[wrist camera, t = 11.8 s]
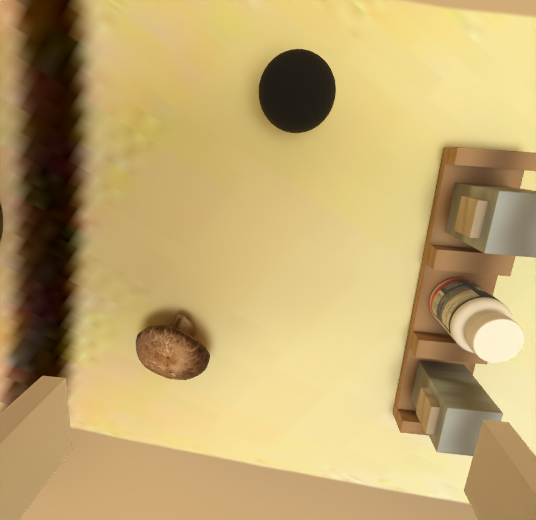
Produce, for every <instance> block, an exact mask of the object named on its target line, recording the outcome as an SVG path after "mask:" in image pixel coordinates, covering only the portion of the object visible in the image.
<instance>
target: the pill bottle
mask: <svg viewBox="0 0 536 520" xmlns="http://www.w3.org/2000/svg"><path fill="white" fill-rule="evenodd" d="M429 304H430V310H431V313H432V314H433V316H434V317H435V319H436V320H437V321H438V322H439V323H440V324H441V325H442V326H443V327H444V328H445V329H446V331H447V332H448V333H449V334H450V335H451V337H452V338H453V339H454V340H455V342H456V343H457V344H458V345H459V346H460V347H462V348H463V349H465V350H466V351H469V352H472V353H475V354H476V355H477V356H478V357H479V358H481V359H482V360H484V361H487V362H490V363H501V362H505V361H508V360H510V359H512V358H513V357H514V356H516V355H517V354H518V353H519V351H520V350H521V348H522V346H523V343H524V334H523V331H522V329H521V327H520V326H519V325H518V324H517V323H516V322H515V321H514V319H513V316H512V313H511V312H510V310H509V309H508V308H507V307H506V306H505V305H504V304H503V303H502V302H500V301H499V300H498V299H496V298H495V297H493V296H492V295H491V294H489V293H488V292H487V291H485V290H484V289H482V288H481V287H480V286H478V285H477V284H475V283H474V282H472V281H470V280H468V279H465V278H452V279H448V280H446V281H444V282H442V283H441V284H439V285H438V286H437V287H436V288H435V289H434V291H433V292H432V294H431V297H430V303H429Z"/></svg>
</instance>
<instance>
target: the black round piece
mask: <svg viewBox="0 0 536 520" xmlns="http://www.w3.org/2000/svg"><path fill="white" fill-rule="evenodd" d="M335 92H336V86H335V79H334V76H333V74H332V71H331V69H330V67H329V66H328V64H327V63H326V62H325V61H324V60H323V59H322V58H321V57H320V56H319V55H317V54H315V53H313V52H311V51H308V50H303V49H294V50H289V51H286V52H283V53H281V54H280V55H278V56H277V57H275V58H274V59H273V60H272V61H271V62H270V63H269V64H268V65H267V67H266V68H265V70H264V72H263V75H262V77H261V80H260V85H259V99H260V104H261V107H262V110H263V112H264V114H265V116H266V117H267V118H268V120H269V121H270V122H271V123H272V124H273V125H274V126H276V127H277V128H279V129H281V130H283V131H286V132H291V133H301V132H306V131H309V130H311V129H313V128H315V127H317V126H318V125H319V124H320V123H322V122H323V121H324V119H325V118H326V117H327V116H328V114H329V112H330V111H331V109H332V106H333V103H334V99H335Z"/></svg>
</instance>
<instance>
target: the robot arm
mask: <svg viewBox="0 0 536 520" xmlns="http://www.w3.org/2000/svg"><path fill="white" fill-rule="evenodd" d="M1 231H2V214H1V208H0V237H1ZM71 449H72V442H71V431H70V420H69V409H68V398H67V387H66V378H59V377H49V376H42V377H41V378H40V379H38V380H37V381H36V382H35V383H34V384H33V385H32V386H31V387H30V388H28V389H27V390H26V391H25V392H24V393H23V394H22V395H21V396H20V397H18V398H17V399H16V400H15V401H14V402H13V403H12V404H11V405H10V406H8V407H7V408H6V409H5V410H4V411H3V412H2V413H1V414H0V520H19V519H20V518H21V517H22V515H23V514H24V513H25V512H26V510H27V509H28V507H29V506H30V505H31V503H32V502H33V501H34V499H35V498H36V497H37V495H38V494H39V493H40V491H41V490H42V489H43V487H44V486H45V485H46V483H47V481H48V480H49V479H50V478H51V476H52V475H53V474H54V472H55V471H56V470H57V468H58V467H59V466H60V464H61V463H62V461H63V460H64V459H65V458H66V456H67V455H68V454H69V452H70V451H71ZM464 492H465V494H466V496H467V498H468V500H469V502H470V504H471V506H472V508H473V510H474V512H475V514H476V516H477V518H478V520H536V456H535V455H534V454H533V452H532V451H531V450H530V449H529V447H528V446H527V445H526V444H525V442H524V441H523V440H522V439H521V437H520V436H519V435H518V434H517V432H516V431H515V430H514V429H513V427H512V426H511V425H510V423H509V422H499V421H489V420H483V422H482V426H481V430H480V433H479V437H478V441H477V444H476V448H475V452H474V455H473V459H472V463H471V466H470V470H469V474H468V477H467V481H466V485H465V488H464Z"/></svg>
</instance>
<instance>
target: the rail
mask: <svg viewBox="0 0 536 520" xmlns="http://www.w3.org/2000/svg"><path fill="white" fill-rule="evenodd" d="M524 170H530V171H536V153H530V152H516V151H502V150H488V149H475V148H461V147H450V148H444V150H443V155H442V160H441V166H440V171H439V176H438V181H437V186H436V192H435V197H434V202H433V207H432V212H431V218H430V223H429V228H428V233H427V238H426V244H425V249H424V254H423V259H422V264H421V270H420V275H419V280H418V285H417V290H416V296H415V301H414V306H413V311H412V316H411V322H410V327H409V332H408V337H407V343H406V348H405V353H404V358H403V363H402V369H401V374H400V379H399V384H398V389H397V395H396V400H395V405H394V410H393V414H394V417H395V420H396V422H397V425H398V428H399V430H400V432H401V433H411V434H421V435H429V437H430V439H431V441H432V443H433V445H434V447H435V449H436V451H437V452H440V453H449V454H459V455H468V456H473V455H474V452H475V448H476V444H477V441H478V437H479V433H480V430H481V426H482V422H483V420H489V421H499V422H501V419H502V415H503V413H502V412H501V410H500V409H499V408H498V407H497V405H496V404H495V403H494V402H493V400H492V399H491V398H490V397H489V395H488V394H487V393H486V392H485V390H484V389H483V388H482V387H481V385H480V384H479V383H478V382H477V380H476V379H475V378H474V377H473V371H474V367H475V363H478V364H487V361H484V360H482V359H481V358H479V357H478V356H477V355H476V354H475V353H472V352H469V351H466V350H465V349H463V348H462V347H460V346H459V345H458V344H457V343H456V342H455V340H454V339H453V338H452V337H451V335H450V334H449V333H448V332H447V331H446V329H445V328H444V327H443V326H442V325H441V324H440V323H439V322H438V321H437V320H436V319H435V317H434V316H433V314H432V313H431V310H430V304H429V303H430V297H431V294H432V292H433V291H434V289H435V288H436V287H437V286H438V285H439V284H441V283H442V282H444V281H446V280H448V279H452V278H465V279H468V280H470V281H472V282H474V283H475V284H477V285H478V286H480V287H481V288H482V289H484V290H485V291H487V292H488V293H489V294H491V295H492V296H493V292H494V288H495V284H496V280H497V276H498V275H502V276H510V275H511V271H512V267H513V263H514V259H515V256H524V257H536V191H532V190H525V189H520V185H521V181H522V177H523V174H524Z"/></svg>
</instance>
